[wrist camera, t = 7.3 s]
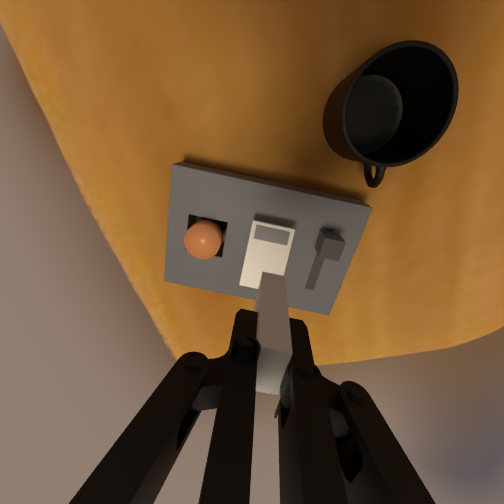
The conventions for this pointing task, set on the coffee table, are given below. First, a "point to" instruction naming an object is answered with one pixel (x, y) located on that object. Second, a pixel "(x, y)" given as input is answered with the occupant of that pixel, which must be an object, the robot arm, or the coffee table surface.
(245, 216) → the panel
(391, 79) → the mug
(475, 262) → the coffee table surface
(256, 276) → the rocker
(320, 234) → the slider
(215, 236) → the button
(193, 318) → the coffee table surface
